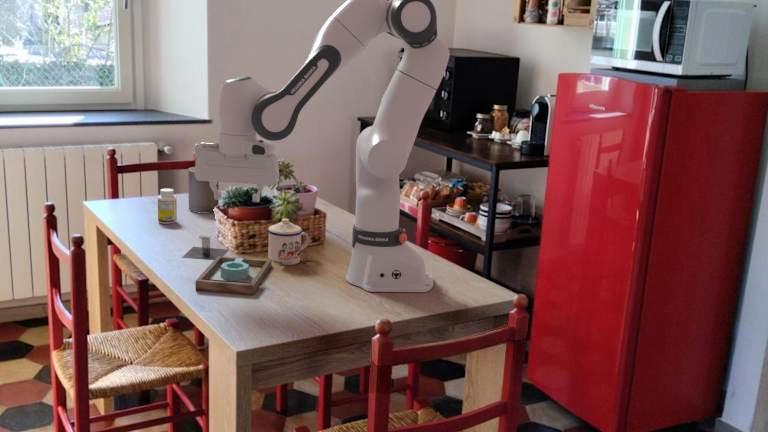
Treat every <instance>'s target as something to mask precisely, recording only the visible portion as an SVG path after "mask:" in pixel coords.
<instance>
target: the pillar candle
mask: <svg viewBox="0 0 768 432" xmlns="http://www.w3.org/2000/svg"><path fill="white" fill-rule="evenodd" d="M187 170H188V171H187V172H188V211H189V210H191V211H190V212H193V211H195V212H211V213H214V212H213V209H214V207H215V206H217V205H218V206H219V201H220V200H217V199H214V192H213V191H212V189H211V187H210V181H198V180H197V179H196V177H195V166H192V167H189V168H188V169H187ZM216 187H217V189H218V190H219V182H217V184H216ZM195 212H194V213H195Z"/></svg>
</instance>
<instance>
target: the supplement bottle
mask: <svg viewBox="0 0 768 432" xmlns="http://www.w3.org/2000/svg"><path fill="white" fill-rule="evenodd" d="M177 204H178V203H177V196H176V195H175V190H174V188H161V189H160V191H159V195H158V196H157V220H158V223H159V224H162V225H163V224H164V225H172V224H175V223H177V220H178V217H177V216H178V215H177V209H178V208H177V206H178V205H177Z"/></svg>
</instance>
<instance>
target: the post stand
mask: <svg viewBox="0 0 768 432" xmlns="http://www.w3.org/2000/svg"><path fill="white" fill-rule="evenodd" d="M211 238H212V237H211V236H207V235H200V236H199V238H198V239H200V240H201V247H200V246H193V247H191V248H190V249H189V250H188V251H186V253H185V254H184V255H183V256H182V257H181V258H183V259H193V260H194V259H196V260H205V261H206V260H208V261H214V260H215V259H216V258H217V257H218V256H224V257H225V255H226V253H228V251H229V249H228V248H226V249H225V248H224V249H223V248H213V247H211Z"/></svg>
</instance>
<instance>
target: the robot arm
mask: <svg viewBox="0 0 768 432" xmlns="http://www.w3.org/2000/svg"><path fill="white" fill-rule="evenodd" d="M437 18H438V17H437V11H436V8H435V5H434V3H433V1H432V0H346V1H344V2H343V3H342V4H341V5H340V6H339V7H338V8H337V9H336V10H335V11H334V12H333V13H332V14H331V15H330V16H329V17H328V19H327V20H326V21H325V23H323V24H322V25H321V27H320V29H319V31H318V32H317V33H316V35H315V37H314V40H313V41H312V45H311V49H310V51H309V54H308V57H307V58H306V60H305V61H304V62H303V64H302V66H301V67H300V68H299V69H298V71H296V73H295V74H294V75H293V76H292V77H291V78H290V80H288V82H287V83H285V85H284V86H283V87H282V88H281V89H280V90H278V91H277V90H274V89H272V88H269V87H267V86H265V85H263V84H261V83H259V82H258V81H257V80H255V79H254V78H253V77H251V76H247V75H246V76H237V77H232V78H229V79H227V80H225V81H224V82H223V83H222V84H221V86H220V89H219V96H218V118H219V123H220V124H219V128H218V143H217V142H216V143H215V142H211V143H210V142H200V143H199V144H197V145H196V146H195V147H194V158H195V159H196V161H195V166H194V167H195V177H196V179H197V180H198V181H210V187H211V189H212V191H213V192H214V199H217V200H218V201H221V200H222V197H223V192H222V191H220V190H219V188H218V189H217V187H216V184H217V182H218V183H228V184H229V183H232V184H233V183H234V184H249V185H256V188H257V189H258V191H257V193H253V194H252V196H251V197H252V199H251V200H252V202H253V203H260V197H261V193H262V192H263V190H264V189H265V186H275V185H276V184H278V182H279V180H280V168H279V161H278V158H277V156H276V154H275V153H274V151H275V149H276V147H275V143H273V142H277V141H281V140H284V139H285V138H288V136H290V135H291V134H292V132H293V131H294V129H295V127H296V124H297V121H298V118H299V116H300V113H301V111H302V110H303V108H304V107H305V105H306V104H307V103H308V102H309V101H310V100H311V99H312V98H313V97H314V96H315V95H316V93H317V92H318V91H319V90H320V89H321V87H323V85H324V84H325V83H326V82H327V81H328V80H329V79H331V78H332V77H333V76H334V75H335V74H337V73H338V72H340V71H341V70H342V69H343V68H346V66H348V65H349V64H350V63H351V62H353V61H354V60H355V59H356V58H357V57H359V55H360V54H361V53H362V52H363V51H364V50H366V49H367V47H368V46H369V45H370V43H372V41H374V40H375V39H376V38H377V37H378V36H379V35H381V34H383V33H386V34H388V35H390V36H392V37H394V38H396V39H398V40H400V41H403V44H404V45H403V46H404V51H403V54H402V57H401V60H400V62H399V64H398V65H397V68H396V70H395V71H394V74H393V76H392V77H391V80H390V82H388V83H389V84H388V86H387V87H386V89H385V92H384V94H383V96H382V98H381V100H380V101H381V102H380V104H379V107H378V111H377V114H376V115H375V119H374V121H373V124H372V125H370V126H367V127H366V128H365V129H363V130H362V131H361V132H360V134H359V135H358V137H357V140H356V143H355V144H356V145H355V189H356V190H355V193H356V194H355V214H354V215H355V218H354V224H353V227H352V230H351V247H352V252H351V258H350V262H349V266H348V270H347V271H346V275H345V280H346V281H347V282H348V283H350V284H351V285H354V286H357V287H359V288H361V289H363V290H365V291H366V292H371V293H373V292H375V293H376V292H377V293H380V292H381V293H427V292H429V291H431V290H432V289H433V287H434V285H435V283H434V277H433V276H432V275H431V274H430V273H429V272H427V271H426V269H427V268H426V263H425V260H424V258H423V255H421V254H420V253H418V252H417V251H416V250H415V249H414V248H413V247H411V246H410V245H409V244H408V243H407V240H408V235H407V232H406V229H405V228H401V227H400V226H399V223H400V211H401V210H400V209H401V208H400V206H401V192H400V191H401V190H400V174H401V173H402V172H403V171H404V170H405V168H406V166H407V163H408V159H409V157H410V155H411V151H412V149H413V146H414V143H415V141H416V138H417V136H418V133H419V129H420V126H421V124H422V122H423V119H424V117H425V114H426V112H427V111H428V109H429V106H430V105H431V103H432V101H433V98H434V97H435V95H436V93H437V90H438V88H439V87H440V84H441V82H442V80H443V77H444V74H445V72H446V69H447V65H448V63H449V60H450V57H451V56H450V54H451V53H450V49H449V46H448V45H447V44H446V42H444V41H443V40H442V39H441V38H439V37H438V19H437ZM257 135H258V136H259V137H257ZM260 137H261V138H260ZM270 141H271V142H270Z"/></svg>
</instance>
